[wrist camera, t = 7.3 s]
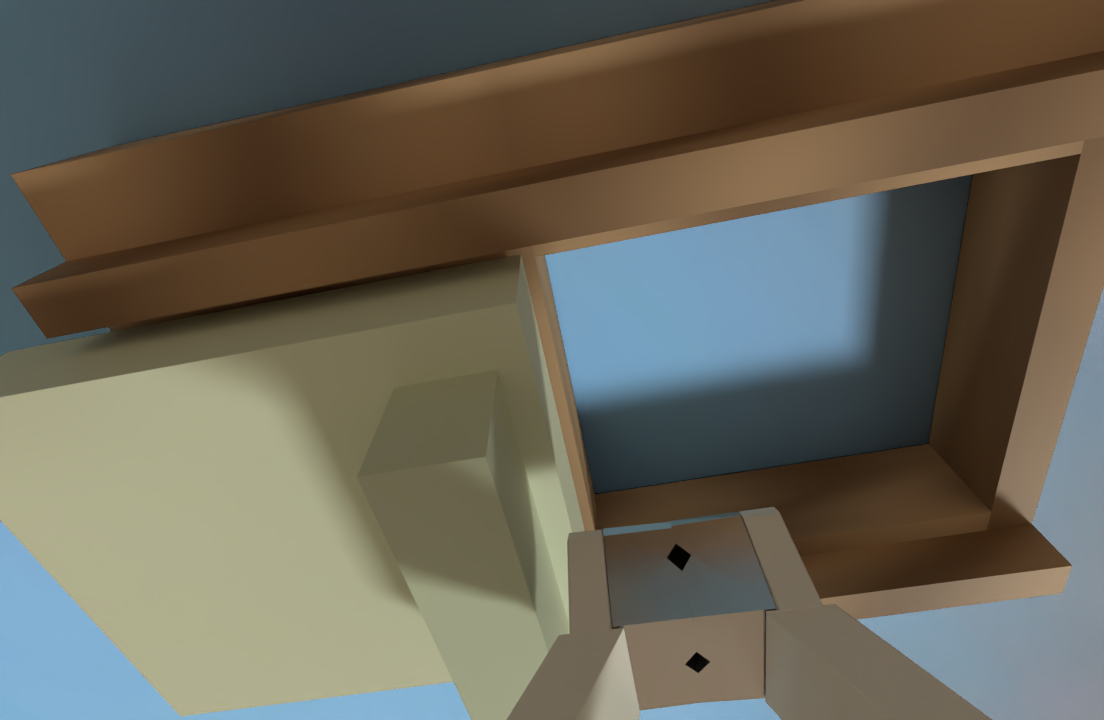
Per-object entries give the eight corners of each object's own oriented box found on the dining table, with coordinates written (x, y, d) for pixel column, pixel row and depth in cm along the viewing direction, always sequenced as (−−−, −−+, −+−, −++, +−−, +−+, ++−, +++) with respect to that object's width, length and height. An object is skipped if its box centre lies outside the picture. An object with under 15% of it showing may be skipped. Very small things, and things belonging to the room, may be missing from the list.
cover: (521, 253, 10) (507, 379, 6) (596, 583, 14) (613, 768, 10) (8, 351, 11) (-253, 509, 7) (223, 635, 15) (123, 822, 11)
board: (1070, -66, 10) (1321, -109, 7) (951, 518, 17) (1046, 634, 14) (110, 147, 12) (-56, 193, 8) (359, 602, 18) (320, 723, 15)
